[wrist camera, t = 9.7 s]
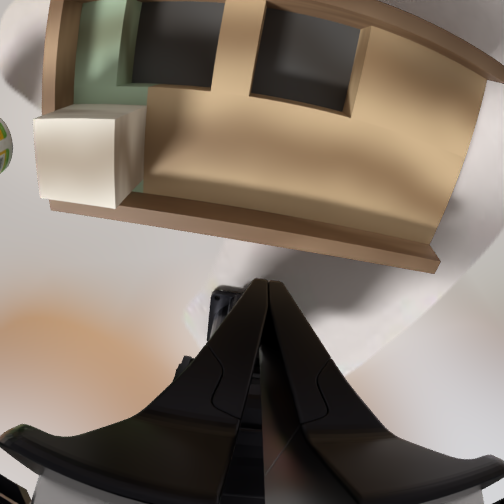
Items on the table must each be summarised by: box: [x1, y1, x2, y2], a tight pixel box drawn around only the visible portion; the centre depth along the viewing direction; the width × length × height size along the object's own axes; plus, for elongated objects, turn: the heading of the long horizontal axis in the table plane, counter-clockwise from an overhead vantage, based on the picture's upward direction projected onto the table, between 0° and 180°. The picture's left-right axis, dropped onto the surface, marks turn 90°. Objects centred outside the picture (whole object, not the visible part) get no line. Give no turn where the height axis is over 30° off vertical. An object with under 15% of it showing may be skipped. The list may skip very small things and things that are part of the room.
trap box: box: [42, 0, 504, 274], centre depth 15 cm, size 14×25×4 cm, turn 81°
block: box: [33, 104, 147, 209], centre depth 15 cm, size 4×5×4 cm
